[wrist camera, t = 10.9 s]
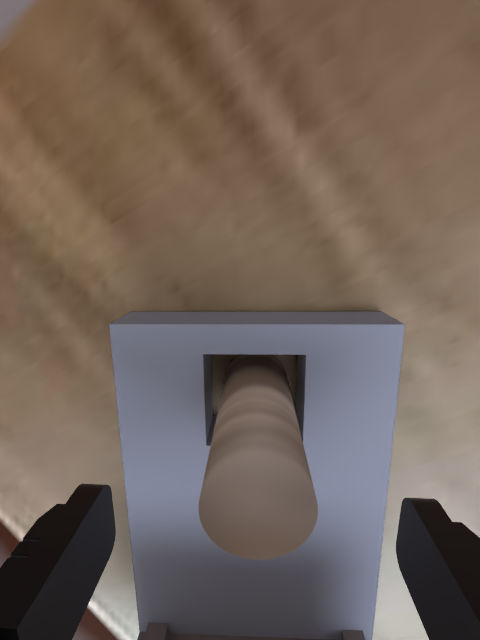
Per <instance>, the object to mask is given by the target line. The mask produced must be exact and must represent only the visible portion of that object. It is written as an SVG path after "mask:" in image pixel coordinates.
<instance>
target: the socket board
mask: <svg viewBox="0 0 480 640" xmlns="http://www.w3.org/2000/svg"><path fill="white" fill-rule="evenodd" d="M109 328H110V339H111V349H112V359H113V369H114V379H115V389H116V399H117V409H118V419H119V429H120V439H121V449H122V459H123V469H124V479H125V489H126V499H127V509H128V519H129V529H130V540H131V550H132V560H133V570H134V580H135V590H136V600H137V610H138V620H139V630H140V633H139V636H138V640H372V636H373V626H374V616H375V607H376V597H377V588H378V578H379V568H380V559H381V549H382V539H383V530H384V520H385V510H386V501H387V491H388V482H389V472H390V462H391V453H392V443H393V433H394V424H395V414H396V405H397V395H398V385H399V376H400V366H401V356H402V347H403V337H404V328H405V324H403V323H401V322H399V321H398V320H396V319H394V318H392V317H390V316H389V315H387V314H385V313H383V312H381V311H332V312H130V313H128V314H126V315H124V316H123V317H121V318H119V319H117V320H116V321H114V322H112V323H111V324H109ZM211 354H248V355H298V367H297V399H296V417H297V421H298V425H299V429H300V433H301V437H302V441H303V445H304V450H305V454H306V458H307V462H308V466H309V470H310V474H311V478H312V483H313V487H314V491H315V495H316V499H317V504H318V516H317V521H316V525H315V527H314V529H313V531H312V533H311V535H310V536H309V537H308V539H307V540H306V541H305V542H304V543H303V544H302V545H301V546H300V547H298V548H297V549H295V550H294V551H292V552H290V553H288V554H286V555H283V556H281V557H277V558H273V559H266V560H255V559H247V558H242V557H239V556H236V555H233V554H231V553H229V552H227V551H225V550H223V549H222V548H220V547H219V546H218V545H216V544H215V543H214V542H213V541H212V540H211V539H210V537H209V536H208V535H207V533H206V532H205V530H204V528H203V526H202V524H201V521H200V517H199V511H198V508H199V499H200V494H201V489H202V484H203V480H204V475H205V470H206V465H207V461H208V456H209V451H210V446H211V442H212V437H213V432H214V427H215V423H216V418H217V417H213V401H212V368H211Z"/></svg>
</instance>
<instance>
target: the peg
mask: <svg viewBox="0 0 480 640" xmlns="http://www.w3.org/2000/svg"><path fill="white" fill-rule="evenodd" d="M198 511H199V517H200V521H201V524H202V526H203V528H204V530H205V532H206V533H207V535H208V536H209V537H210V539H211V540H212V541H213V542H214V543H215V544H216V545H218V546H219V547H220V548H222V549H223V550H225V551H227V552H229V553H231V554H233V555H236V556H239V557H242V558H247V559H255V560H266V559H273V558H277V557H281V556H283V555H286V554H288V553H290V552H292V551H294V550H295V549H297V548H298V547H300V546H301V545H302V544H303V543H304V542H305V541H306V540H307V539H308V537H309V536H310V535H311V533H312V531H313V529H314V527H315V525H316V521H317V516H318V504H317V499H316V495H315V491H314V487H313V483H312V478H311V474H310V470H309V466H308V462H307V458H306V454H305V450H304V445H303V441H302V437H301V433H300V429H299V425H298V421H297V417H296V412H295V408H294V404H293V400H292V396H291V392H290V388H289V384H288V379H287V375H286V371H285V369H284V367H283V365H282V363H281V362H280V361H279V360H278V359H277V358H276V357H275V356H273V355H248V354H240V355H238V356H237V357H235V358H234V359H233V360H232V361H231V363H230V364H229V366H228V368H227V371H226V375H225V380H224V385H223V389H222V394H221V399H220V404H219V408H218V413H217V418H216V423H215V427H214V432H213V437H212V442H211V446H210V451H209V456H208V461H207V465H206V470H205V475H204V480H203V484H202V489H201V494H200V499H199V508H198Z"/></svg>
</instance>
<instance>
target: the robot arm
mask: <svg viewBox="0 0 480 640" xmlns="http://www.w3.org/2000/svg"><path fill="white" fill-rule="evenodd" d="M114 541H115V520H114V511H113V502H112V493H111V488H110V486H109V485H96V484H81V485H79V486H78V487H77V488H76V490H75V491H74V493H73V494H72V495H71V497H70V498H69V500H68V501H67V502H66V504H56V505H55V506H54V507H53V508H51V509H50V510H49V511H48V512H46V513H45V514H44V515H42V516H41V517H40V518H39V519H38V520H37V521H36V522H35V523H34V525H33V526H32V527H31V529H30V530H29V531H28V533H27V534H26V535H25V536H24V538H23V541H22V542H20V543H19V544H18V546H17V547H16V548H15V550H14V551H13V552H12V553H11V557H10V558H8V559H7V560H6V561H5V562H4V564H3V565H2V566H1V568H0V640H72V638H73V636H74V634H75V632H76V630H77V627H78V625H79V623H80V621H81V619H82V616H83V614H84V612H85V610H86V608H87V606H88V603H89V601H90V599H91V597H92V595H93V592H94V590H95V588H96V586H97V584H98V582H99V579H100V577H101V575H102V573H103V571H104V569H105V566H106V564H107V562H108V560H109V558H110V555H111V553H112V549H113V546H114ZM396 553H397V559H398V564H399V568H400V571H401V573H402V576H403V578H404V580H405V583H406V585H407V588H408V590H409V592H410V595H411V597H412V599H413V602H414V604H415V607H416V609H417V611H418V614H419V616H420V619H421V621H422V623H423V626H424V628H425V630H426V633H427V635H428V638H429V640H480V538H479V537H478V536H477V535H475V534H474V533H473V532H472V531H471V530H470V529H468V528H467V527H466V526H465V525H464V524H463V523H461V522H452V521H451V520H450V518H449V517H448V515H447V514H446V512H445V511H444V509H443V508H442V506H441V505H440V503H439V502H438V501H437V500H435V499H422V498H404V499H403V501H402V506H401V513H400V520H399V527H398V534H397V541H396Z"/></svg>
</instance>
